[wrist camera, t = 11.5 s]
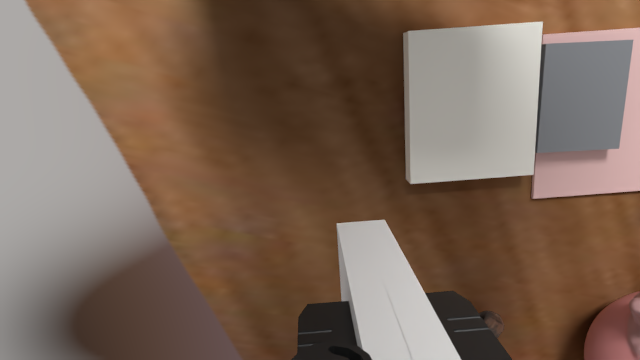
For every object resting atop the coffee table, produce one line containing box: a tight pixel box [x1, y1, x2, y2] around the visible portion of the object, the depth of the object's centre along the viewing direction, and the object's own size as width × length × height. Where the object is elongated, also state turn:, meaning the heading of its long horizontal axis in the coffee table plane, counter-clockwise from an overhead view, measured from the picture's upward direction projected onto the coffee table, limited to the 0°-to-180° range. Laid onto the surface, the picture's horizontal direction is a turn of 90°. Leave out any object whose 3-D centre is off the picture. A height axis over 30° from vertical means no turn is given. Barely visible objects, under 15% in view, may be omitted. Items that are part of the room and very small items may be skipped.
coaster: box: [535, 40, 633, 153], centre depth 39 cm, size 10×8×2 cm
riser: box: [403, 22, 543, 184], centre depth 39 cm, size 14×12×2 cm
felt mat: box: [531, 28, 640, 199], centre depth 41 cm, size 16×12×1 cm
